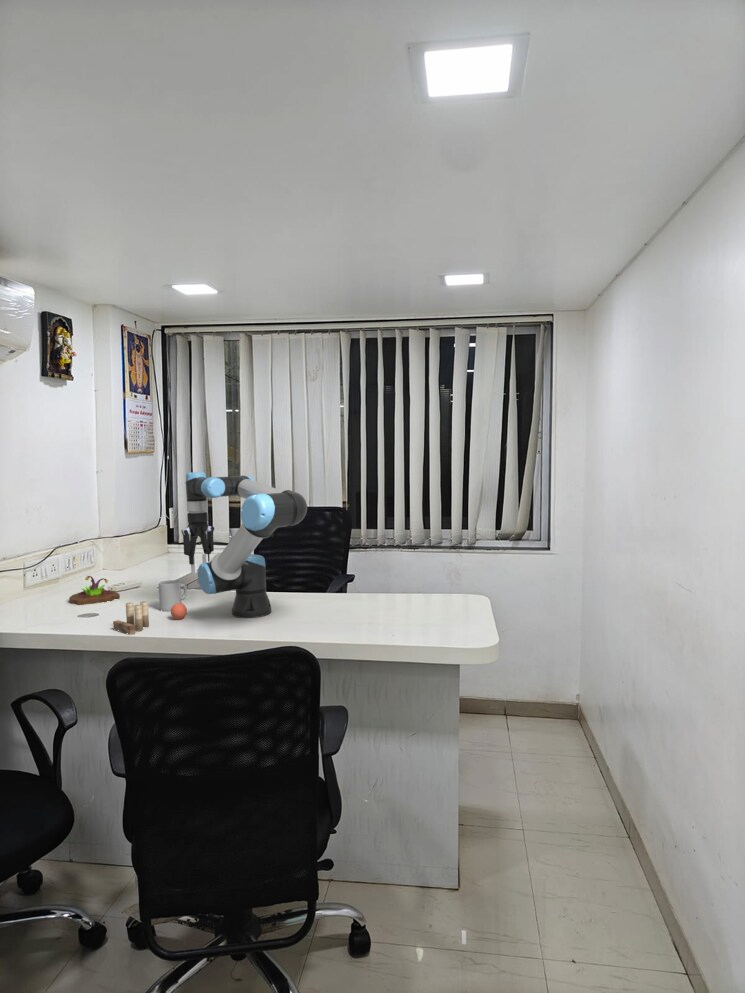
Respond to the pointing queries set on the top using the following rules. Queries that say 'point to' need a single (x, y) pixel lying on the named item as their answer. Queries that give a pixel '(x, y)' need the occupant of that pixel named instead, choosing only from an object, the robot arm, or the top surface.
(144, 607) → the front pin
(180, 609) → the ball
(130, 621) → the pin
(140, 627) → the pin
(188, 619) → the top surface
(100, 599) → the plant
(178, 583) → the mug
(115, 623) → the brown long block
